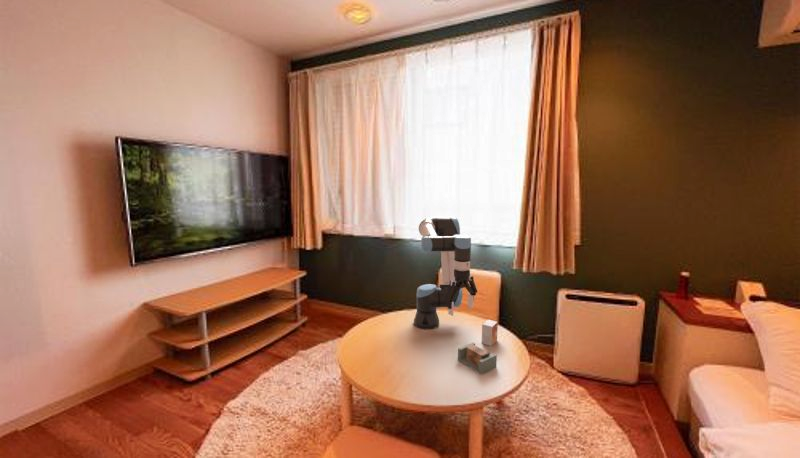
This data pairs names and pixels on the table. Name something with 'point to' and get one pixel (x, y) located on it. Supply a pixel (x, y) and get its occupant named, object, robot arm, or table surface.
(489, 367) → the bracket
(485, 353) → the rail end
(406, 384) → the table surface
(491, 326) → the small box
